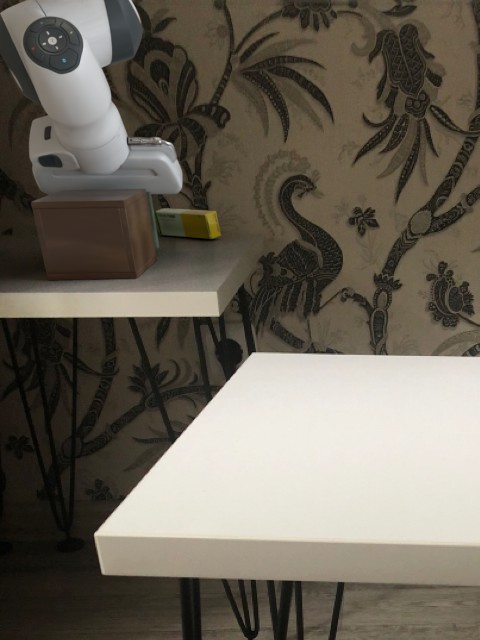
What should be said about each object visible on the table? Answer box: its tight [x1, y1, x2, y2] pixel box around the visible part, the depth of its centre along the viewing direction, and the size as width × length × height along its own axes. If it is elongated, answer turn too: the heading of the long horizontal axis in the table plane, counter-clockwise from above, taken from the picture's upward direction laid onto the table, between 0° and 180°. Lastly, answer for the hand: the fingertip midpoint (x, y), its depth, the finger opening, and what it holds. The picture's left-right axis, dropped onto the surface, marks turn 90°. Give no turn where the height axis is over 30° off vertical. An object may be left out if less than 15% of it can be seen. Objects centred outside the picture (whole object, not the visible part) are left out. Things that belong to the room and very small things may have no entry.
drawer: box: [146, 192, 160, 250], centre depth 133 cm, size 18×10×8 cm, turn 5°
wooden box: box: [30, 189, 158, 281], centre depth 125 cm, size 14×12×10 cm
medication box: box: [154, 207, 222, 240], centre depth 151 cm, size 12×3×4 cm, turn 59°
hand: (123, 207), depth 139 cm, fingers closed
